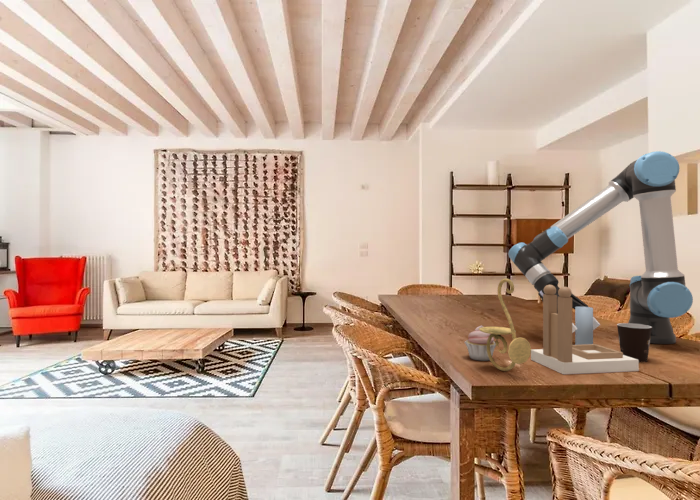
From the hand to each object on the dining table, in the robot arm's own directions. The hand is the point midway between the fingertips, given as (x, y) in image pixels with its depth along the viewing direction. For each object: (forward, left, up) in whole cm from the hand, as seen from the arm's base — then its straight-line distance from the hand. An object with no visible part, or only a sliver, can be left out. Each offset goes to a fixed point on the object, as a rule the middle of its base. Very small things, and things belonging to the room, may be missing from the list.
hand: (585, 329), depth 135 cm
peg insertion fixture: (+12, +14, -7) cm, 20 cm away
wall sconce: (+37, +16, -7) cm, 41 cm away
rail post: (0, -1, -7) cm, 7 cm away
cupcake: (+37, +3, -7) cm, 38 cm away
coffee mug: (-9, +10, -7) cm, 15 cm away
